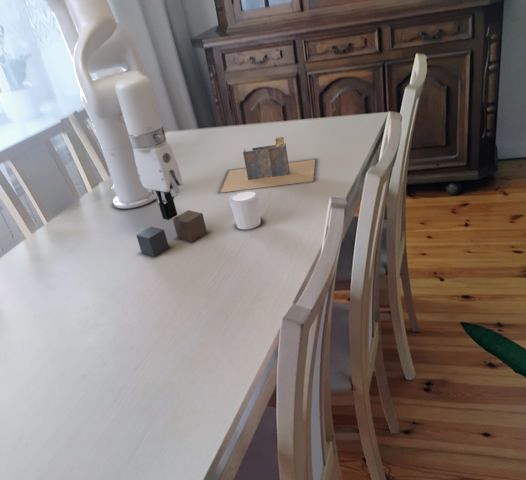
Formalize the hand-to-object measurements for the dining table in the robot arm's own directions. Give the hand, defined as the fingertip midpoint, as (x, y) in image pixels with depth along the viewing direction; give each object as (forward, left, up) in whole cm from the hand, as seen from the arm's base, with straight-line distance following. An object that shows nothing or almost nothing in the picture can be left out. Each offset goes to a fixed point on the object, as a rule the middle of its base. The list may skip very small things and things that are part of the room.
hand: (170, 217), depth 135 cm
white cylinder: (+15, +10, -4) cm, 19 cm away
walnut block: (+6, 0, -4) cm, 7 cm away
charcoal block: (+3, -9, -4) cm, 10 cm away
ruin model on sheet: (-1, +36, -4) cm, 36 cm away
